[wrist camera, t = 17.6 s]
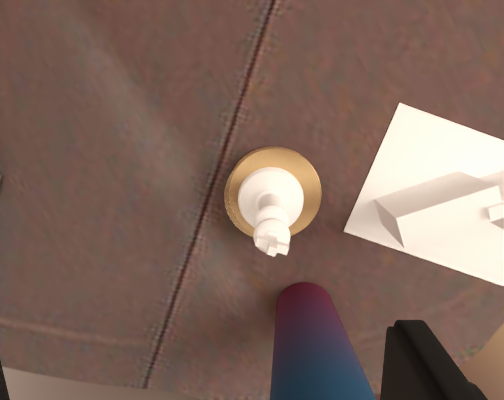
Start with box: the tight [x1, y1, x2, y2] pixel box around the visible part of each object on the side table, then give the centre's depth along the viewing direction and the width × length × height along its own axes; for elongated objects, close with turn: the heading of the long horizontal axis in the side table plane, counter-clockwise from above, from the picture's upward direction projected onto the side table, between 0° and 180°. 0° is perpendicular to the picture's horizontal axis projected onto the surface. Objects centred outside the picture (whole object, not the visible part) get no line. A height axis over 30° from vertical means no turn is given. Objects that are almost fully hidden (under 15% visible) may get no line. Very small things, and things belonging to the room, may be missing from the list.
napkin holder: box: [344, 103, 504, 286], centre depth 27 cm, size 15×11×6 cm
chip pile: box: [224, 147, 322, 237], centre depth 29 cm, size 8×7×3 cm
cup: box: [270, 282, 376, 400], centre depth 26 cm, size 7×7×15 cm
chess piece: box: [238, 167, 304, 257], centre depth 23 cm, size 5×5×10 cm
